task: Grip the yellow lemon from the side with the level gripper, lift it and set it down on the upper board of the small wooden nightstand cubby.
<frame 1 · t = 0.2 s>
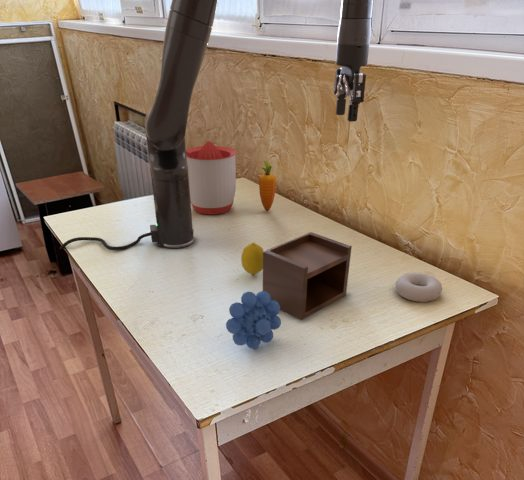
hand: (345, 118, 124), 29 cm above the table, tool pointing down, fingers open, 8 cm apart
lemon: (253, 275, 117), on the table
donut: (416, 294, 110), on the table
citrus juicer: (209, 209, 154), on the table
grapes: (257, 350, 92), on the table
wooden nightstand cubby: (304, 298, 108), on the table
carrot: (267, 212, 153), on the table
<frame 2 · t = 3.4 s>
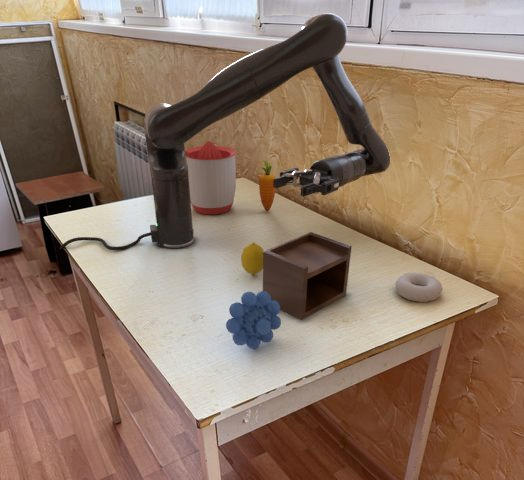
hand: (287, 187, 113), 18 cm above the table, tool horizontal, fingers open, 8 cm apart
nothing on the table moved.
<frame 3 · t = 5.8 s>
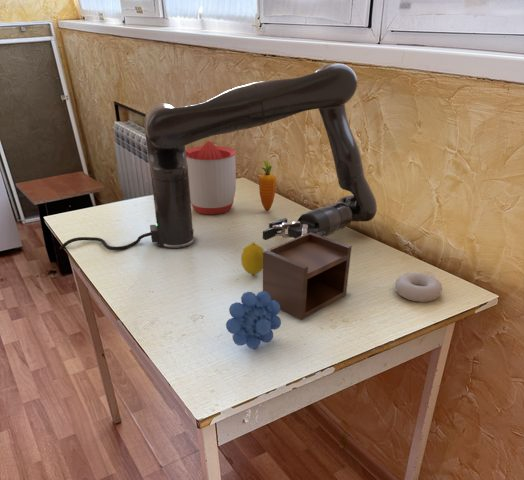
hand: (276, 240, 118), 6 cm above the table, tool horizontal, fingers open, 8 cm apart
nothing on the table moved.
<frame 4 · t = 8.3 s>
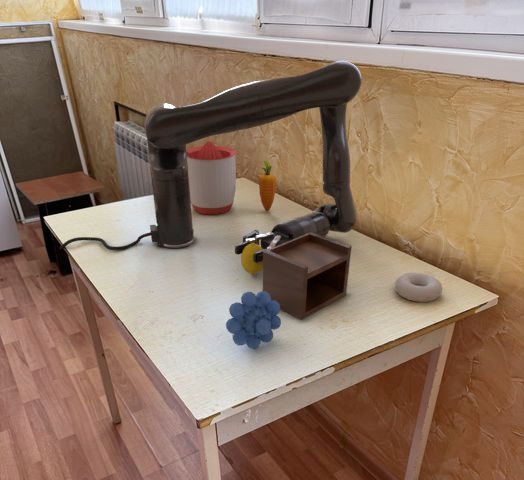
hand: (245, 254, 112), 6 cm above the table, tool horizontal, fingers closed on lemon, 5 cm apart
lemon: (253, 275, 117), on the table, touching gripper
everything else where it was.
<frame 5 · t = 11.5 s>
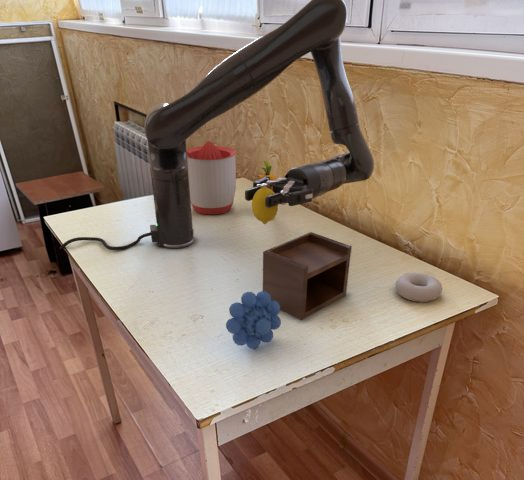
hand: (256, 199, 102), 19 cm above the table, tool horizontal, fingers closed on lemon, 5 cm apart
lemon: (264, 224, 107), point 13 cm above the table, touching gripper
everything else where it was.
when the fingers open (16 cm above the table, at t = 14.8 s): lemon stays where it is, resting on wooden nightstand cubby.
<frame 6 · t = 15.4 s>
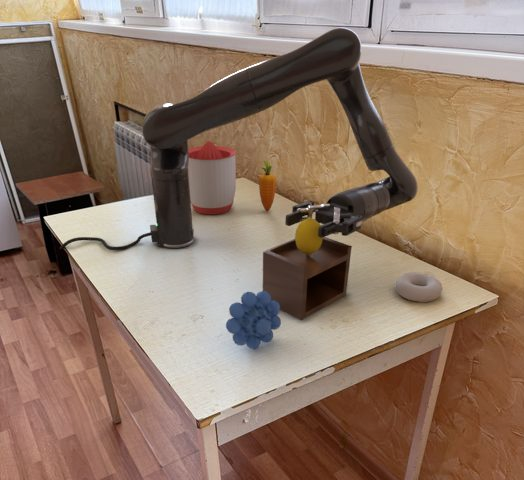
hand: (302, 226, 97), 17 cm above the table, tool horizontal, fingers open, 8 cm apart
lemon: (307, 256, 102), point 10 cm above the table, touching wooden nightstand cubby
everything else where it was.
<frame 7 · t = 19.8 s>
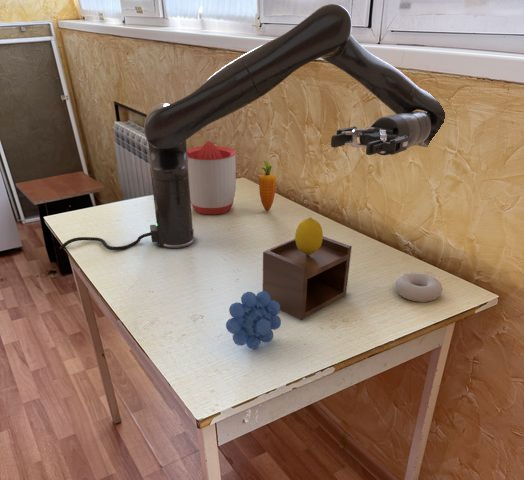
hand: (349, 145, 97), 30 cm above the table, tool horizontal, fingers open, 8 cm apart
nothing on the table moved.
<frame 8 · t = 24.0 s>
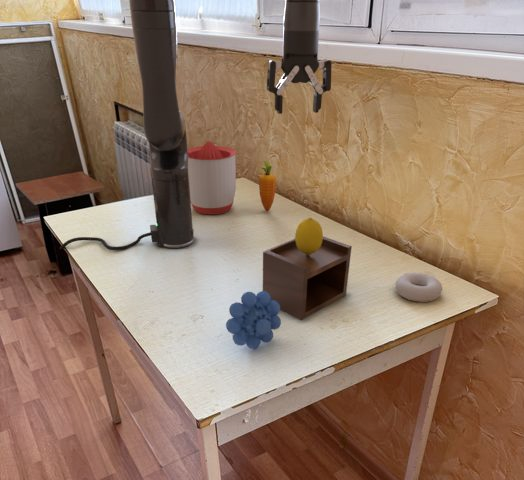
hand: (297, 112, 113), 32 cm above the table, tool pointing down, fingers open, 8 cm apart
nothing on the table moved.
at the end: lemon 0.1 cm from the wooden nightstand cubby (horizontally); lemon point 9.8 cm above the table; the gripper is holding nothing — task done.
